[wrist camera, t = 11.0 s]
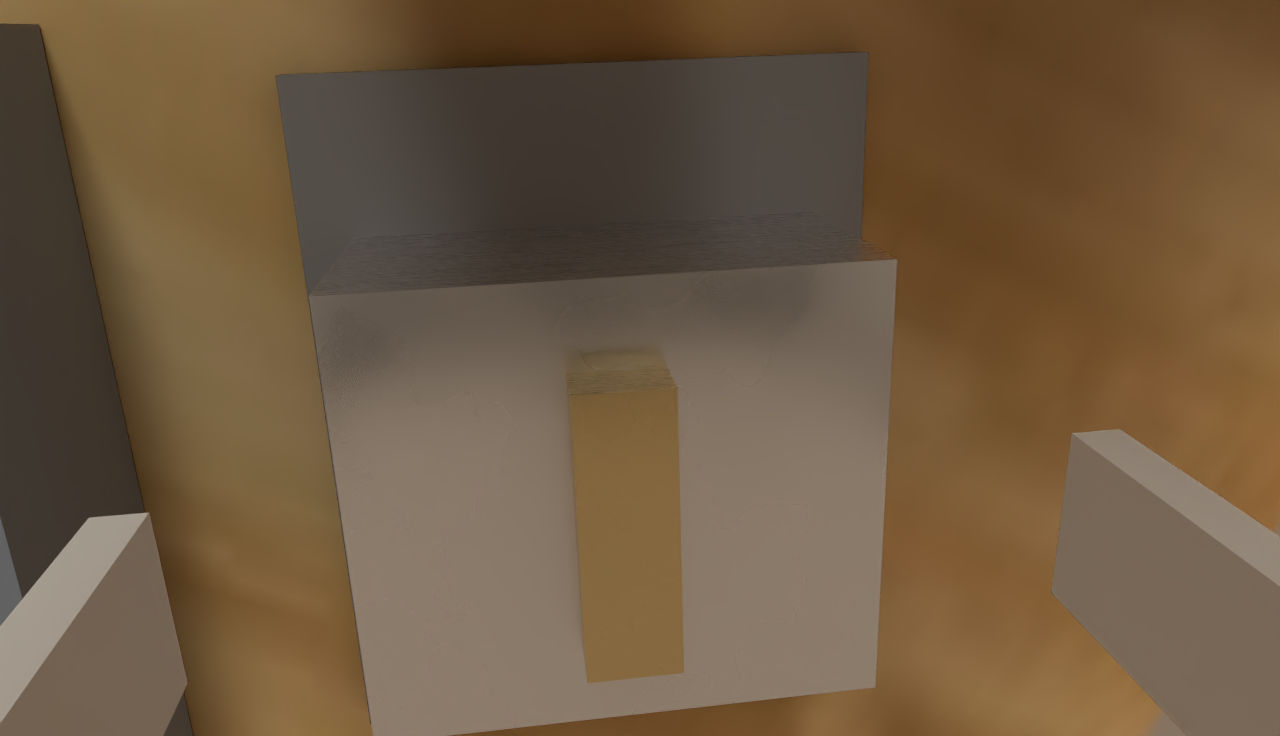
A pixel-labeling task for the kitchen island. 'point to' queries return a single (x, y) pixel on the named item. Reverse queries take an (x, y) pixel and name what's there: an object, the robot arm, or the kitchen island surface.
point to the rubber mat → (570, 147)
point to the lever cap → (609, 465)
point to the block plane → (50, 345)
